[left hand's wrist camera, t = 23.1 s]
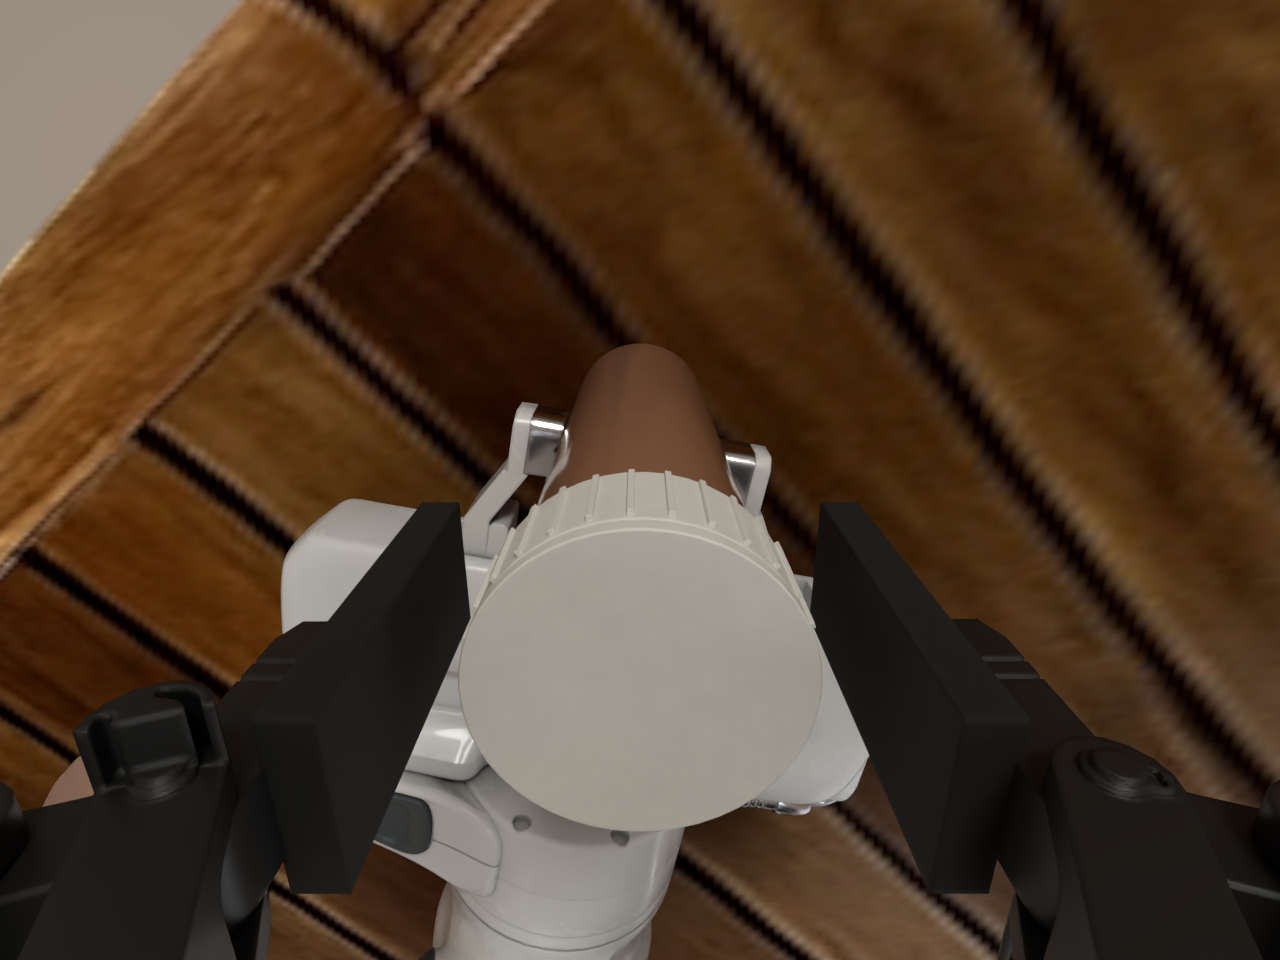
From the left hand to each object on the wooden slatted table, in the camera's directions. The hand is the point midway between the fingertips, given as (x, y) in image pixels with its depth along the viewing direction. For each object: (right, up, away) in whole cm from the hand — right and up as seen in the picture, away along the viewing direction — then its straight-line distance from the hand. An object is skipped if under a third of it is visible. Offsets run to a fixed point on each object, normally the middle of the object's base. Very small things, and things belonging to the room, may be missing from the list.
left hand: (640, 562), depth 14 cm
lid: (0, -1, -4) cm, 4 cm away
